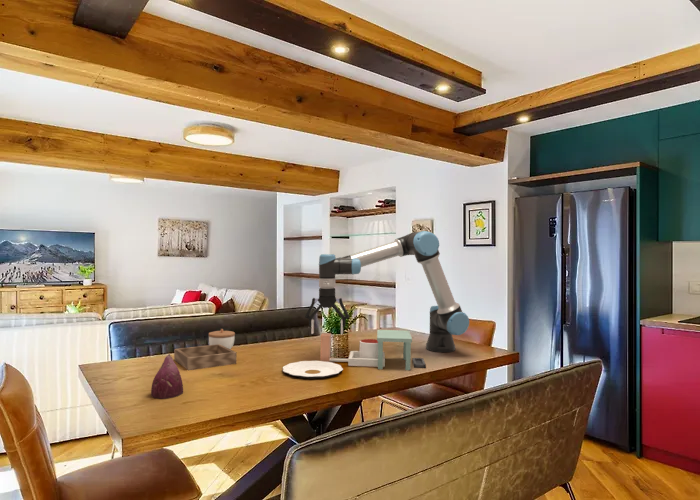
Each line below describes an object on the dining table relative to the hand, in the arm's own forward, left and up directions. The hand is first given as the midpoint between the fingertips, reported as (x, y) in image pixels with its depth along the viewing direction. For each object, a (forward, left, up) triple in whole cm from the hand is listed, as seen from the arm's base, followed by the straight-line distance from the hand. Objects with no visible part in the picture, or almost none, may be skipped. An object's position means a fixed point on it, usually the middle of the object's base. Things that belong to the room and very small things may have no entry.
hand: (327, 333), depth 210 cm
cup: (-15, +14, -13) cm, 24 cm away
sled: (-8, +9, -12) cm, 17 cm away
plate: (+15, +13, -13) cm, 24 cm away
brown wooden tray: (+47, -27, -13) cm, 56 cm away
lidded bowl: (+33, -44, -13) cm, 57 cm away
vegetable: (+73, +11, -13) cm, 75 cm away
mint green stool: (-23, +21, -13) cm, 33 cm away
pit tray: (-31, +28, -13) cm, 44 cm away
